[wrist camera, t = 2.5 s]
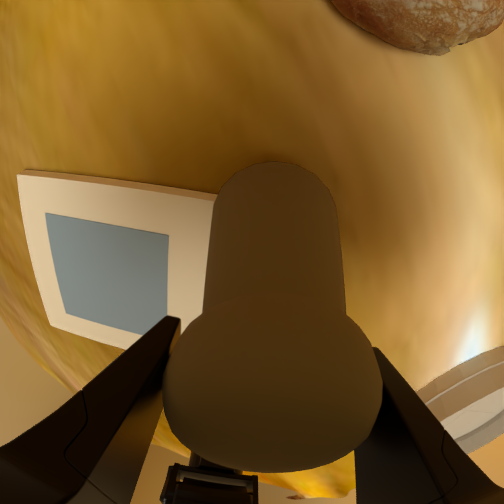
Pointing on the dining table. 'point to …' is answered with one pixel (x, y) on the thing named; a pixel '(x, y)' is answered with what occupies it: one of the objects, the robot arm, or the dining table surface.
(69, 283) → the plate
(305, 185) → the cork
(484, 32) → the bread roll
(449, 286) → the dining table surface
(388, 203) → the dining table surface
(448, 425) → the dish
